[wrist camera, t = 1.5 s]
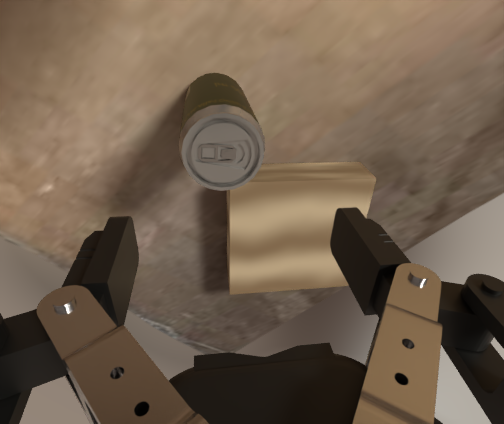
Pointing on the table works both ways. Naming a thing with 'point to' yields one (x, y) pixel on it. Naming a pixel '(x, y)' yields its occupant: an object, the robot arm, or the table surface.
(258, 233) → the oak pedestal
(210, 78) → the beer can
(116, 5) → the table surface
